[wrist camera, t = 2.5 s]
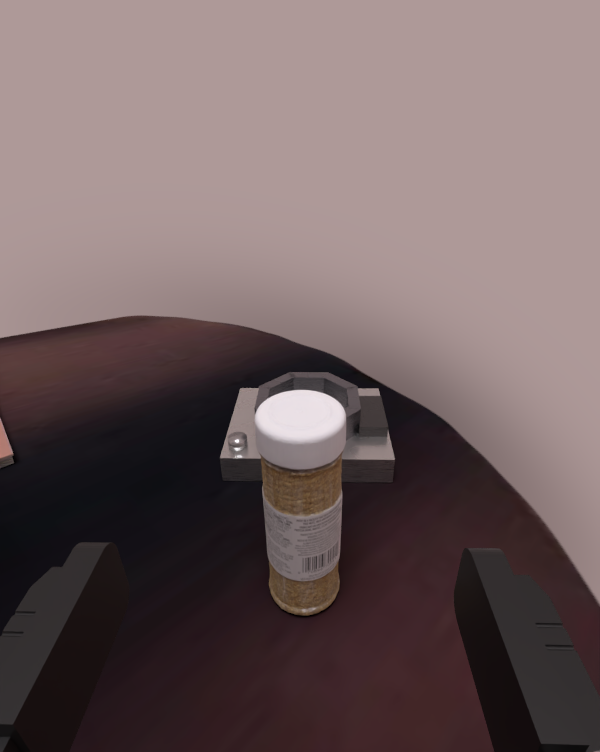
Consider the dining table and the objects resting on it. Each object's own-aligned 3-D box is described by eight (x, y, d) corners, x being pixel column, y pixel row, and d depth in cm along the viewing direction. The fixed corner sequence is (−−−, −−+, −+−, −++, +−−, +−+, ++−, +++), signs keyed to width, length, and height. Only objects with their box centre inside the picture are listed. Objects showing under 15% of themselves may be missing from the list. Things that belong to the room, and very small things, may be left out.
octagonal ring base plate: (222, 480, 37) (216, 434, 34) (242, 407, 46) (238, 367, 44) (392, 482, 36) (397, 435, 34) (376, 408, 46) (380, 367, 44)
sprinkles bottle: (327, 549, 31) (331, 381, 24) (349, 609, 27) (361, 428, 20) (262, 563, 30) (247, 393, 23) (275, 628, 26) (262, 445, 19)
